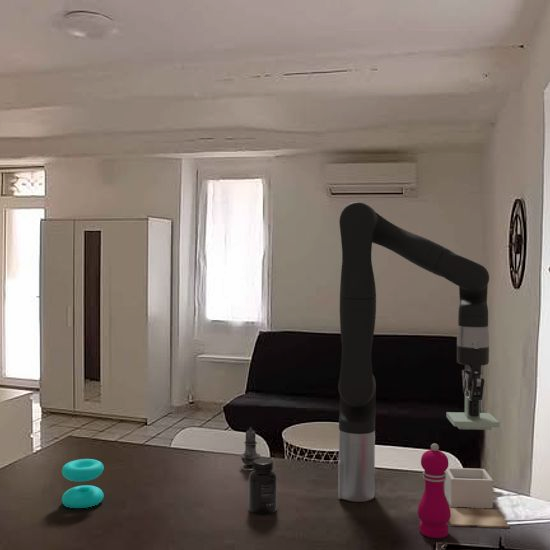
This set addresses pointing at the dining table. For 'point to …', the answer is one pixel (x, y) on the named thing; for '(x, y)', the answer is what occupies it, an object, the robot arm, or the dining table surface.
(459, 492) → the storage box
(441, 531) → the pepper mill
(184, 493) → the dining table surface
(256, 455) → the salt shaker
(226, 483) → the dining table surface
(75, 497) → the donuts
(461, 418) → the lid
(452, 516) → the cork mat
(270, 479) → the supplement bottle
